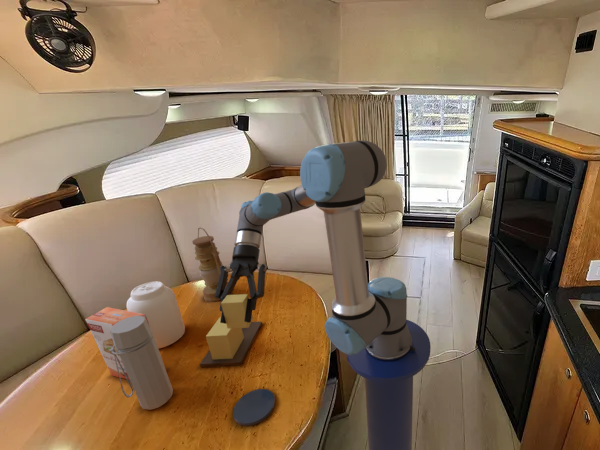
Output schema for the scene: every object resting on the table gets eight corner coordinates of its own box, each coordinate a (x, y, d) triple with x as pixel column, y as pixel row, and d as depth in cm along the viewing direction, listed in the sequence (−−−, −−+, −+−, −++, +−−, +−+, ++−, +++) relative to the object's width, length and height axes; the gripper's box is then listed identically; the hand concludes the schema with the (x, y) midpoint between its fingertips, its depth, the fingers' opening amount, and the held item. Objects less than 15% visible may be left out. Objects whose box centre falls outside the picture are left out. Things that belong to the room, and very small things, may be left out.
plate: (281, 393, 86) (281, 390, 86) (263, 428, 77) (262, 425, 76) (247, 390, 87) (246, 387, 86) (225, 424, 78) (224, 421, 77)
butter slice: (253, 318, 96) (247, 294, 92) (248, 327, 92) (242, 302, 89) (233, 319, 95) (227, 294, 92) (227, 328, 92) (220, 303, 88)
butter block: (244, 338, 104) (239, 316, 101) (232, 358, 96) (226, 335, 93) (225, 339, 104) (219, 316, 101) (212, 359, 96) (205, 336, 92)
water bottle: (172, 382, 89) (146, 310, 80) (176, 401, 83) (148, 326, 74) (131, 401, 84) (98, 325, 74) (132, 422, 78) (96, 343, 69)
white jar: (131, 346, 103) (111, 294, 95) (168, 322, 114) (152, 274, 106) (159, 354, 99) (140, 301, 92) (194, 329, 110) (179, 280, 103)
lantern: (242, 290, 133) (228, 224, 122) (224, 304, 124) (207, 234, 113) (213, 285, 137) (196, 221, 126) (193, 299, 127) (173, 231, 116)
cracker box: (109, 377, 91) (83, 318, 83) (131, 361, 96) (107, 305, 89) (147, 387, 88) (123, 327, 80) (167, 370, 93) (146, 312, 86)
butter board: (262, 324, 113) (261, 321, 112) (241, 364, 95) (240, 361, 95) (228, 325, 112) (227, 322, 112) (200, 367, 94) (199, 364, 94)
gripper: (281, 250, 104) (273, 322, 95) (222, 252, 103) (208, 325, 93) (273, 242, 97) (264, 319, 88) (210, 244, 96) (194, 322, 86)
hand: (235, 322), depth 91 cm, fingers closed on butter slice, 6 cm apart
